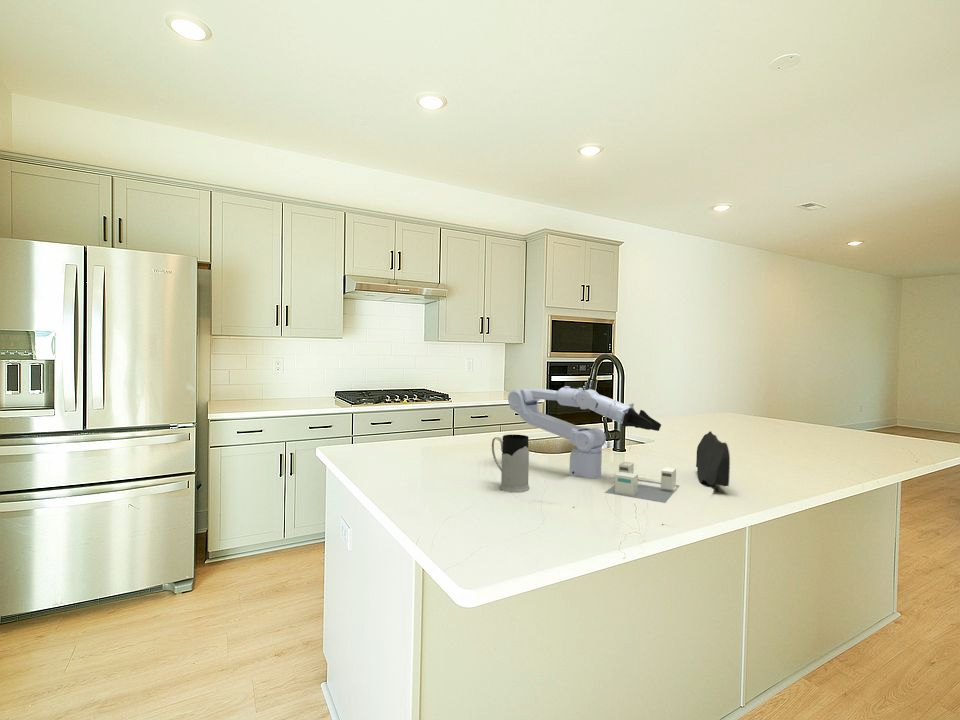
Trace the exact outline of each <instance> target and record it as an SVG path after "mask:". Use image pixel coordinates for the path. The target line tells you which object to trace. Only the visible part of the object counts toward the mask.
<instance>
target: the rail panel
mask: <svg viewBox="0 0 960 720" xmlns="http://www.w3.org/2000/svg"><path fill="white" fill-rule="evenodd" d="M634 470H635V463H634V462H628V461H622V462H621V463H619V464H618V473H619V472H626V473H633V474H635V472H634ZM660 473H661V474H660V481H658V482H657V481H653V480H645V479H639V478H638V492H637V493H636V494H635V495H634V496H630V495H624V494H618V493H615V484H614V485H613V486H611V487H610V488H608V489H607V490H606V491H605V492H604V493H605V494H610V495H611V494H612V495H617V496H623V497H628V498H633V499H640V500H644V501H645V500H646V501H651V502H658V503H663V504H666V503H667V501H668V500H670V498H671V496H672V495H673V494H674V493H675V492H676V491H677V490H678V488H679V487H680V485H678V484H677V483H676V482H677V469H676V468H673V467H667V466H665V467H664V468H662V469H661V472H660Z"/></svg>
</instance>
